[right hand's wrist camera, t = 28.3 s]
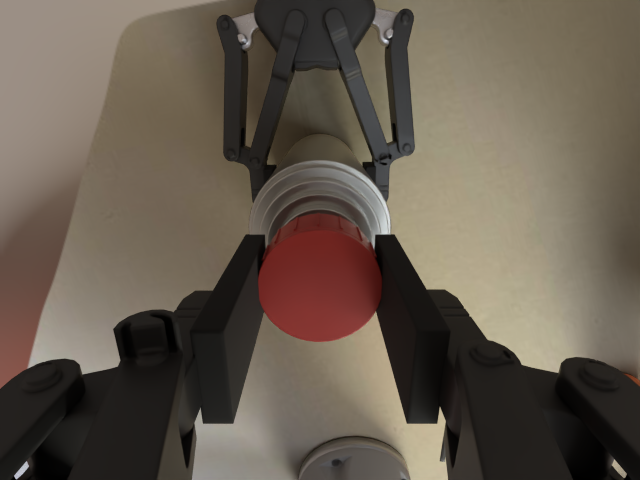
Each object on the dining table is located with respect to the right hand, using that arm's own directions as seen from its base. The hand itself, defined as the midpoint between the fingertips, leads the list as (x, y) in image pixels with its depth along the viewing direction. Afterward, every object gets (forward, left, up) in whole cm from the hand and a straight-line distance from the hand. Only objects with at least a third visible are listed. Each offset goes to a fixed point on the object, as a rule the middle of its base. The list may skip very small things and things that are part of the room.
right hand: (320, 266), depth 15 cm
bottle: (0, 0, -23) cm, 23 cm away
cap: (0, 0, +2) cm, 2 cm away
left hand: (-2, +5, -16) cm, 17 cm away
